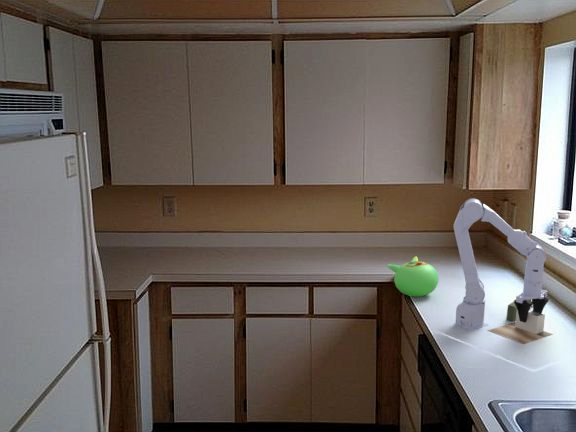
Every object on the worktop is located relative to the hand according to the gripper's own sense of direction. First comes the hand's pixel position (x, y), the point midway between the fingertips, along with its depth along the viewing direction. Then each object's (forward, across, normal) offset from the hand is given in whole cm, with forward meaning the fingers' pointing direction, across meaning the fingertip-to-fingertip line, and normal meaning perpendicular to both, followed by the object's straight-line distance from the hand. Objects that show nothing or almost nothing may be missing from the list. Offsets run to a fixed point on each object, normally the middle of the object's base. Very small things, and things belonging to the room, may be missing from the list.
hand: (529, 319), depth 203 cm
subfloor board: (+4, -5, 0) cm, 6 cm away
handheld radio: (+5, +14, +12) cm, 19 cm away
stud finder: (+3, 0, 0) cm, 4 cm away
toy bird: (+5, -4, +50) cm, 50 cm away
